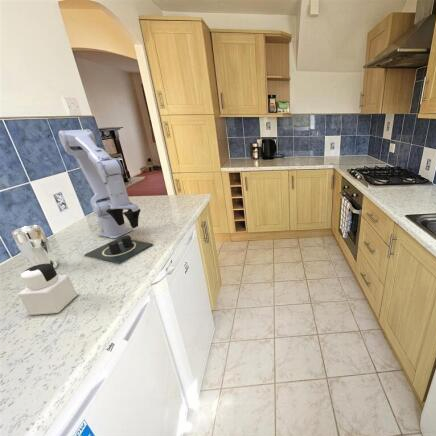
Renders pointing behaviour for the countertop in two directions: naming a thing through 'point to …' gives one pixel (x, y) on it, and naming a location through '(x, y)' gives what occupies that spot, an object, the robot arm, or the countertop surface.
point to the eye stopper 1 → (114, 247)
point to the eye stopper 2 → (127, 241)
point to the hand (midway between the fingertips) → (128, 225)
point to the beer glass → (33, 245)
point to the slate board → (125, 253)
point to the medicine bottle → (46, 290)
